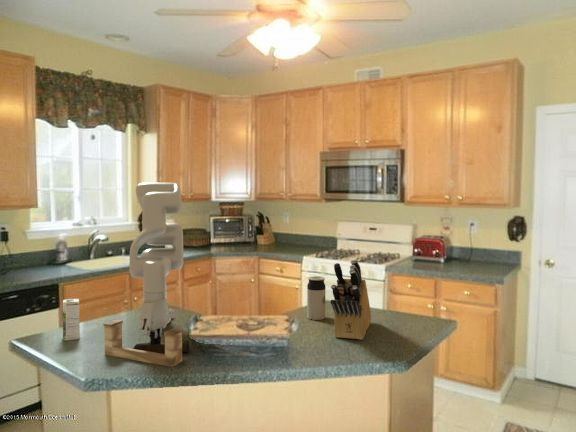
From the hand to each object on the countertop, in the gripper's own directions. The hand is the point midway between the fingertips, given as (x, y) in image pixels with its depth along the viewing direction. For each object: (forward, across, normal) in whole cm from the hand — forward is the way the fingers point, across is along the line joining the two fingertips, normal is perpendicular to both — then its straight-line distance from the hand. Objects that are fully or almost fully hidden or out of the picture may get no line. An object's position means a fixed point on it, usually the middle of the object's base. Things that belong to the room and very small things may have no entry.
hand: (155, 347), depth 157 cm
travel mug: (+2, -61, +38) cm, 72 cm away
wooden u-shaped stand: (+1, +7, 0) cm, 7 cm away
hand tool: (+2, +2, +4) cm, 5 cm away
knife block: (+2, -46, +58) cm, 74 cm away
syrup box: (+2, 0, -39) cm, 39 cm away
